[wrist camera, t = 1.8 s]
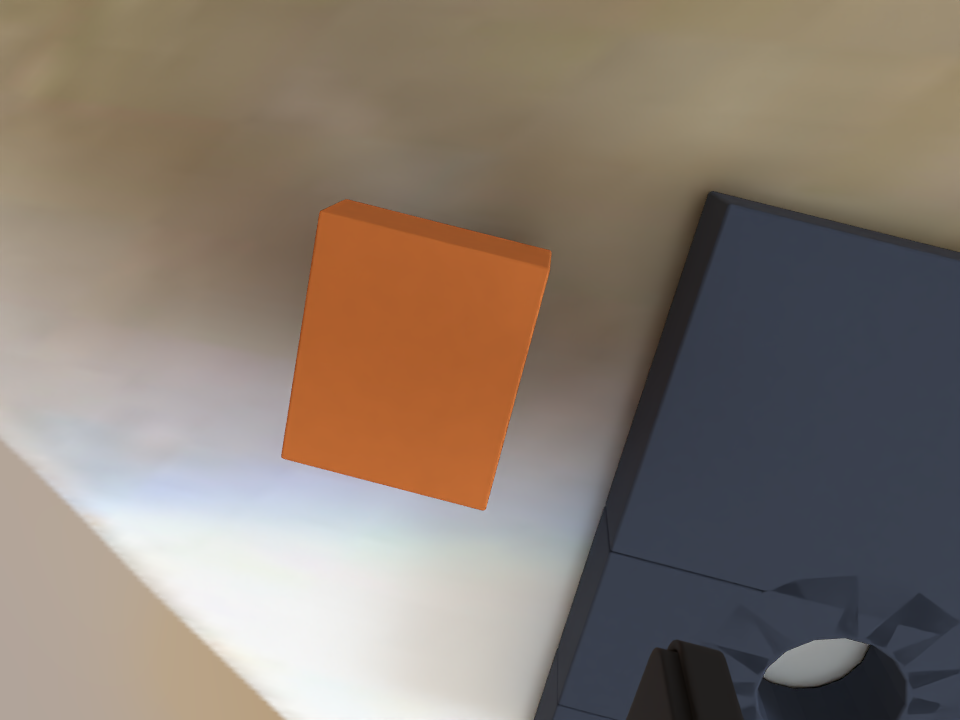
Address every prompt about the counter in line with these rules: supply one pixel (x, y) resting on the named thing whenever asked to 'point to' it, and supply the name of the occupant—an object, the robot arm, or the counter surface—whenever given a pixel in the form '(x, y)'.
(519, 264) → the top pad
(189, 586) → the counter surface
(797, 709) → the base pad
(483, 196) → the counter surface
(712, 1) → the counter surface
